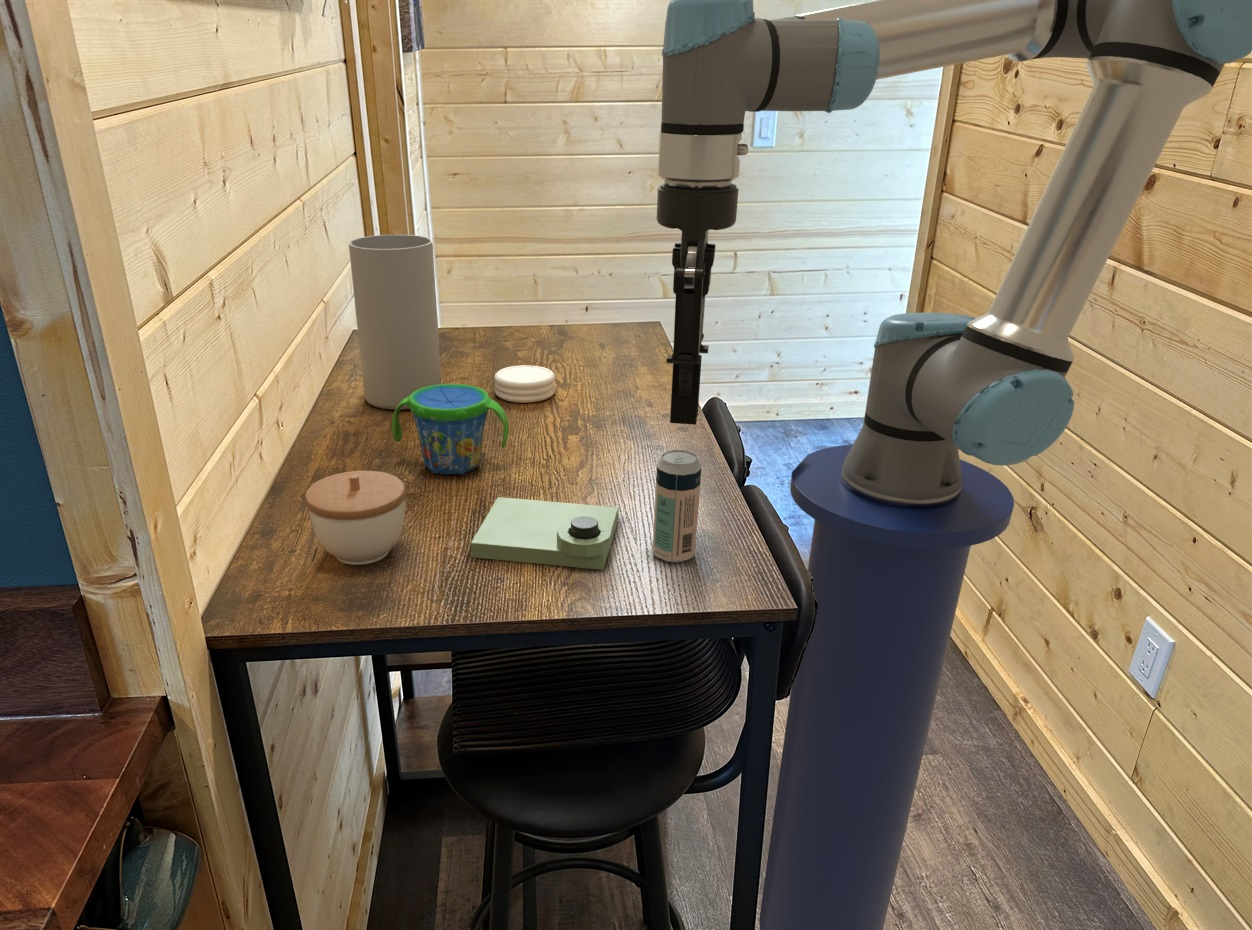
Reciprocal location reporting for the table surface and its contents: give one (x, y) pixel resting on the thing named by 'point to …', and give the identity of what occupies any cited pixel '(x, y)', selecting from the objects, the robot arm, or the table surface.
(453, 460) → the snack cup
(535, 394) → the coaster
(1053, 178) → the robot arm
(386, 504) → the trinket box
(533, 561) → the scale
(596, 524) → the button
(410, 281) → the cylinder vase
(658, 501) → the beer can
